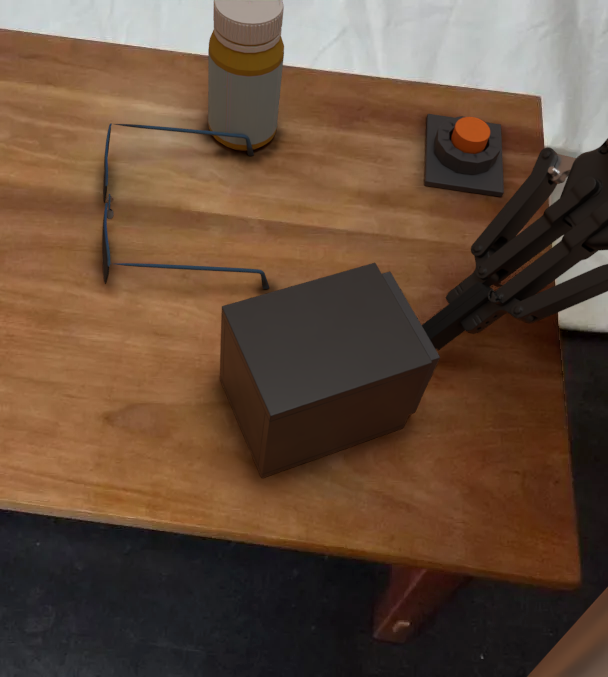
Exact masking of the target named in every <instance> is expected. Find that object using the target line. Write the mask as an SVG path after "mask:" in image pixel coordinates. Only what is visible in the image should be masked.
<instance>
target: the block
mask: <svg viewBox="0 0 608 677" xmlns="http://www.w3.org/2000/svg"><path fill="white" fill-rule="evenodd" d="M426 114H427V115H426V120H425V148H424V149H425V151H424V152H425V154H424V180H423V181H424V186H425V187H431V188H439V189H445V190H450V191H457V192H464V193H471V194H479V195H486V196H492V197H500V198H502V197H503V196H504V194H505V186H504V184H505V183H504V163H503V142H502V140H503V139H502V138H503V137H502V124H501V123H493V122H487V121H484V122H485V123H486V124H487V125H488V126H489V128H490V136H489V139H488V141H487V144H486V146H485V149H484V150H483V151H482V152H480V153H477V154H470V153H464V152H462V151H460V150H459V149H457V148H455V147H454V146H453V144H452V141H451V136H452V133H453V130H454V127H455V124H456V122H457V121H458V120H459V119H461V118H464V117H465V116H463V115H461V116H460V115H459V116H456V117H453V116H447V115H440V114H434V113H426Z"/></svg>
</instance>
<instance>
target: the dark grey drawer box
mask: <svg viewBox="0 0 608 677" xmlns="http://www.w3.org/2000/svg"><path fill="white" fill-rule="evenodd" d="M382 274H383V273H382V272H381V270H380V268H379V265H378V264H377V263H376V262H371V263H368V264H364V265H362V266H357V267H354V268H351V269H347V270H344V271H340V272H337V273H333V274H330V275H327V276H323V277H320V278H316V279H312V280H309V281H304V282H302V283H299V284H294V285H291V286H288V287H285V288H280V289H277V290H274V291H271V292H267V293H262V294H260V295H256V296H253V297H249V298H245V299H242V300H238V301H235V302H231V303H228V304H225V305H224V304H223V305H222V306H221V313H220V315H221V316H220V322H221V323H220V347H219V348H220V352H219V381H220V383H221V385H222V388H223V391H224V392H225V395H226V397H227V399H228V402H229V405H230V407H231V409H232V412H233V414H234V416H235V419H236V421H237V423H238V426H239V428H240V431H241V433H242V435H243V437H244V440H245V443H246V445H247V448H248V449H249V452H250V455H251V456H252V459H253V461H254V464H255V466H256V469H257V471H258V473H259V476H260V478H261V479H264V478H266V477H267V478H268V477H269V476H272V475H275V474H278V473H281V472H283V471H287V470H289V469H292V468H295V467H297V466H300V465H303V464H307V463H309V462H311V461H315V460H316V459H320V458H322V457H327V456H328V455H329V456H330V455H331V454H334V453H337V452H341V451H342V450H346V449H348V448H352V447H355V446H356V445H360V444H363V443H365V442H368V441H370V440H373V439H377V438H379V437H382V436H385V435H387V434H391V433H393V432H396V431H400V430H402V429H404V427H405V425H406V422H407V421H408V419H409V417H410V415H411V414H410V412H411V410H412V407H413V405H414V403H415V401H416V398H417V396H418V394H419V392H420V389H421V387H422V385H423V383H424V380H425V378H426V376H427V374H428V372H429V369H430V367H431V365H432V361H431V359H430V357H429V355H428V354H427V352H426V350H425V348H424V347H423V345H422V343H421V341H420V340H419V338H418V336H417V334H416V333H415V331H414V329H413V327H412V326H411V324H410V322H409V320H408V319H407V317H406V315H405V314H404V312H403V310H402V308H401V307H400V305H399V303H398V301H397V300H396V298H395V296H394V294H393V293H392V291H391V289H390V287H389V286H388V284H387V282H386V280H385V279H384V277H383V275H382ZM409 414H410V415H409Z"/></svg>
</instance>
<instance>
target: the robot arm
mask: <svg viewBox="0 0 608 677" xmlns="http://www.w3.org/2000/svg"><path fill="white" fill-rule="evenodd" d="M563 183H565V184H564V186H563V188H562V190H561V193H560V197H559V198H558V199H557V200H556V201H554V202H553V203H552V204H550V205H549V206H548V207H547V208H546V209H544V211H543V214H542V215H541V216H540V217H538V218H537V219H536V220H534V222H532V223H531V224H530V225H528V226H527V227H525V226H526V225H527V224H528V223H529V222H530V220H531V219H532V218H533V216H535V214H537V212H538V211H539V210H540V209H541V207H543V205H544V204H545V203H546V201H547V200H548V199H549V198H550V196H551V195H552V194H553V193H554V191H555V189H556V188H557V186H558V185H560V184H563ZM524 227H525V228H524ZM523 228H524V229H523ZM560 238H561V240H560V241H559V242H558V243H556V244H555V245H553V246H552V247H551V248H549V249H548V250H546V251H545V252H544V253H543V254H542V255H541V256H539V257H538V258H536V259H535V260H534V261H532V262H531V263H530V264H528V265H527V266H526V267H525V268H523V269H522V270H520V271H519V272H518V273H516V274H515V275H514V276H512V277H511V278H510V279H509V280H507V281H506V282H505V283H504V284H502V282H503V281H504V280H506V279H507V278H508V277H509V276H511V275H513V273H515V272H516V271H517V270H519V269H520V268H522V267H523V266H524V265H526V264H527V263H529V262H530V261H531V260H532V259H534V257H536V256H538V255H539V254H540V253H542V252H543V251H544V250H545V249H547V248H548V247H549V246H551V245H552V244H553V243H555V242H556V241H557V240H559V239H560ZM599 251H608V137H607V138H606V139H605V141H604V142H603V143H601V145H600V146H599V147H597V148H595V149H593V150H589V151H586V152H585V151H584V152H583V153H581V154H579V155H578V156H577V157H573V156H568V155H564V154H560V153H557V152H556V150H554V149H553V148H552V147H550V146H549V147H547V146H546V147H543V149H541V150H540V152H539V153H538V156H537V159H536V161H535V163H534V165H533V168H532V170H531V173H530V174H529V175H528V177H527V178H526V179H525V180H524V182H523V183H522V184H521V185H520V187H519V188H518V189H517V190H516V191H515V192H514V194H513V195H512V196H511V197H510V198H509V200H508V201H507V202H506V203H505V205H504V206H503V207H502V208H501V210H500V211H499V212H498V213H497V214H496V215H495V216H494V218H493V219H492V220H491V221H490V223H489V224H488V225H487V226H486V227H485V229H484V230H483V231H482V232H481V233H480V234H479V236H478V237H477V238H476V240H475V241H474V242H473V243H472V245H471V247H470V253H471V254H472V255H473V257H474V262H475V268H474V271H473V272H472V273H471V274H470V275H468V276H467V277H466V278H465V279H464V280H462V281H461V282H460V283H459V284H457V285H455V287H453V288H452V289H451V290H450V291H448V293H447V294H446V296H445V300H446V301H447V305H446V306H445V307H443V308H442V309H440V310H439V311H438V312H437V313H436V314H434V315H433V316H431V317H430V318H429V319H428V320H426V321H425V322H424V323H422V324H421V325H422V327H423V329H424V330H425V332H426V334H427V335H428V337H429V339H430V341H431V342H432V344H433V346H434V347H435V349H436V351H441V349H442V348H444V347H446V346H447V345H448V344H449V343H451V342H452V341H453V340H455V339H456V338H457V337H459V336H460V335H461V334H463V333H464V332H466V333H469V334H472V335H476V334H479V333H480V334H481V332H483V331H484V330H485V329H487V328H488V327H489V326H491V325H492V324H493V323H495V322H497V320H499V319H500V318H502V317H503V316H504V315H507V314H509V315H511V316H512V317H513V318H514V319H516V320H519V321H521V322H523V323H525V324H528V325H530V324H534V323H536V322H539V321H541V320H543V319H546V318H548V317H550V316H553V315H556V314H558V313H560V312H562V311H564V310H567V309H569V308H572V307H574V306H577V305H579V304H581V303H584V302H586V301H589V300H592V299H593V298H596V297H598V296H601V295H602V294H605V293H608V263H605V264H601V265H599V266H597V267H594V268H592V269H590V270H587V271H585V272H583V273H581V274H578V275H577V276H574V277H572V278H569V279H567V280H565V281H562V282H560V283H558V284H556V285H553V286H551V287H549V288H546V287H547V286H549V285H550V284H552V283H553V282H554V281H556V280H557V279H558V278H560V277H561V276H563V275H564V274H565V273H567V271H570V270H571V269H572V268H573V267H574V266H576V265H577V264H578V263H580V262H582V261H584V260H587V259H590V258H591V257H592V256H593V255H595V254H597V253H598V252H599ZM492 286H494V287H496V288H497V289H496V290H494V289H493V288H492ZM544 288H546V289H544ZM543 289H544V290H543ZM526 677H608V586H607V587H606V588H605V589H604V590H603V591H602V593H601V594H600V595H599V596H598V597H597V598H596V599H595V600H594V601H593V603H591V605H590V606H589V607H588V608H587V609H586V610H585V611H584V612H583V613H582V615H581V616H580V617H579V618H578V619H577V620H576V621H575V622H574V624H573V625H572V626H571V627H570V628H569V629H568V631H566V633H565V634H563V636H562V637H561V638H560V639H559V641H558V642H556V644H555V645H554V646H553V647H552V648H551V649H550V650H549V652H547V654H546V655H545V656H544V657H543V658H542V659H541V660H540V661H539V662H538V664H536V666H535V667H534V668H533V669H532V671H531V672H530V673H529V674H528V675H527V676H526Z"/></svg>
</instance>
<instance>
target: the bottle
mask: <svg viewBox="0 0 608 677" xmlns="http://www.w3.org/2000/svg"><path fill="white" fill-rule="evenodd" d="M284 8H285V5H284V0H213V14H212V15H213V29H212V32H211V35H210V37H209V39H208V41H209V42H208V51H207V52H208V56H207V57H208V58H207V59H208V62H207V68H208V70H207V71H208V72H207V84H208V85H207V122H208V124H207V125H208V129H209V131H215V132H225V133H235V134H243V135H246V136H248V137H249V139H250V142H251V145H252V149H253V151H254V150H257V149H259V148H261V147H263V146H266V145H267V144H268V143H270V142H271V141H272V140H273V139H274V136H275V135H276V133H277V127H278V119H279V110H280V109H279V108H280V101H281V100H280V97H281V87H282V79H283V66H284V56H285V44H284V41H283V38H282V27H283V20H284ZM212 137H213V138H214V139H215V140H216V141H217V142H218V143H221V144H222V145H223V146H225V147H226V148H229V149H232V150H235V151H241V152H242V151H245V152H247V144H246V139H244V138H237V137H227V136H216V135H212Z"/></svg>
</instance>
